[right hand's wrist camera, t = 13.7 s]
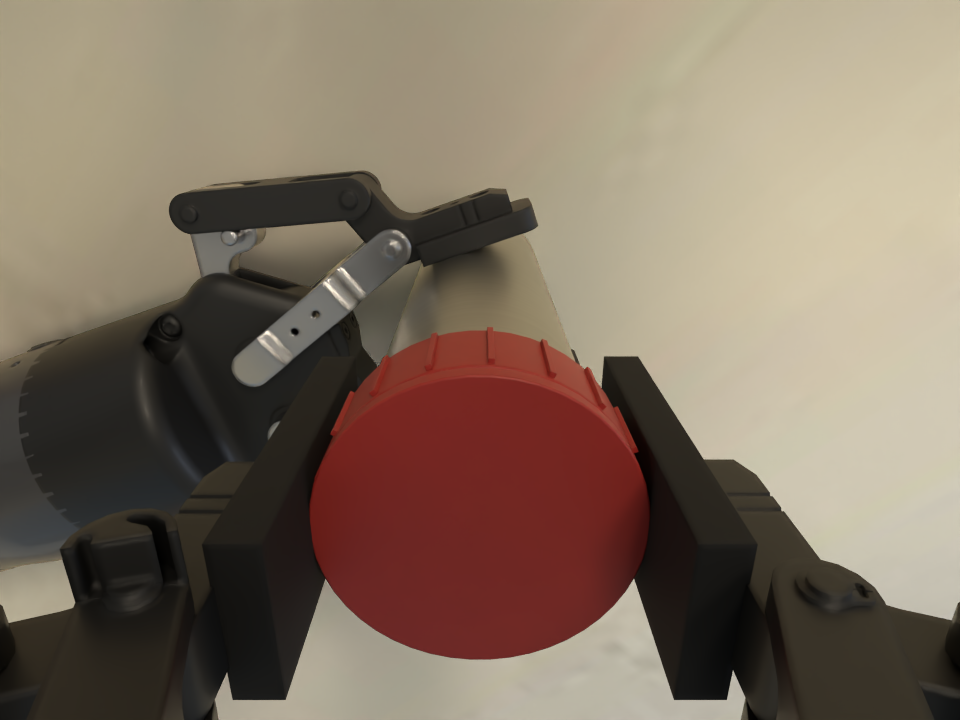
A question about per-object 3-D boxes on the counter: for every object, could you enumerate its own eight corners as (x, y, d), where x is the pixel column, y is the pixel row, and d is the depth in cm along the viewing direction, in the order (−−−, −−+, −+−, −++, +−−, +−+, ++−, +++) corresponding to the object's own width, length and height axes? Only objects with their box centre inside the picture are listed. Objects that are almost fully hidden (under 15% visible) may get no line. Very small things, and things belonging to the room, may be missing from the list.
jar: (406, 303, 27) (303, 573, 11) (447, 196, 26) (392, 337, 10) (509, 343, 28) (549, 651, 12) (556, 241, 26) (672, 443, 10)
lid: (517, 621, 14) (523, 707, 12) (281, 497, 13) (244, 570, 11) (688, 429, 12) (728, 492, 10) (431, 264, 11) (421, 298, 9)
